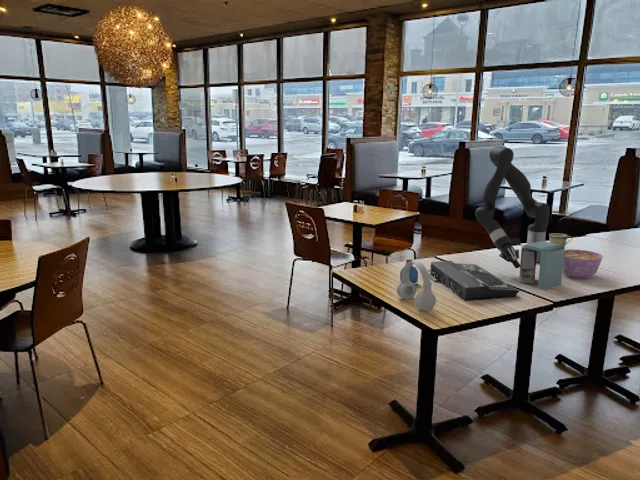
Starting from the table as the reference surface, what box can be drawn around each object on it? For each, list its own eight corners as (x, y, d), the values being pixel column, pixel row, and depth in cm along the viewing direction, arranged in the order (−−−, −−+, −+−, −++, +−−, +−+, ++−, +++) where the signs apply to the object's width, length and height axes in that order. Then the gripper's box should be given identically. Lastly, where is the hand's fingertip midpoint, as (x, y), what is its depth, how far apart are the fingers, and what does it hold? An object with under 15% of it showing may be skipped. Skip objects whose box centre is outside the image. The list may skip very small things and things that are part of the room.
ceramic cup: (550, 252, 289) (551, 236, 287) (545, 248, 299) (547, 233, 297) (573, 253, 287) (575, 237, 285) (568, 249, 297) (569, 233, 295)
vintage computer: (520, 297, 217) (521, 280, 215) (460, 303, 213) (460, 286, 211) (476, 272, 258) (476, 257, 256) (424, 277, 254) (424, 262, 252)
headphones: (436, 310, 204) (438, 266, 199) (419, 313, 201) (420, 269, 196) (411, 295, 222) (412, 255, 218) (395, 298, 219) (396, 257, 215)
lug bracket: (538, 278, 242) (542, 241, 237) (561, 285, 232) (564, 245, 227) (521, 283, 235) (524, 244, 231) (543, 290, 225) (547, 249, 221)
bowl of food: (550, 277, 244) (552, 255, 241) (563, 268, 258) (565, 247, 256) (594, 285, 231) (596, 261, 228) (605, 275, 245) (607, 253, 242)
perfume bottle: (407, 281, 243) (407, 258, 240) (417, 283, 239) (418, 260, 236) (400, 283, 239) (400, 260, 236) (410, 286, 235) (410, 262, 232)
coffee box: (534, 283, 234) (537, 251, 231) (520, 282, 236) (523, 250, 233) (532, 278, 243) (535, 247, 239) (519, 277, 245) (521, 246, 241)
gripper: (495, 236, 245) (514, 265, 237) (513, 233, 251) (532, 261, 244) (487, 244, 251) (504, 273, 243) (504, 241, 257) (522, 269, 250)
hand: (518, 267), depth 244 cm, fingers closed
